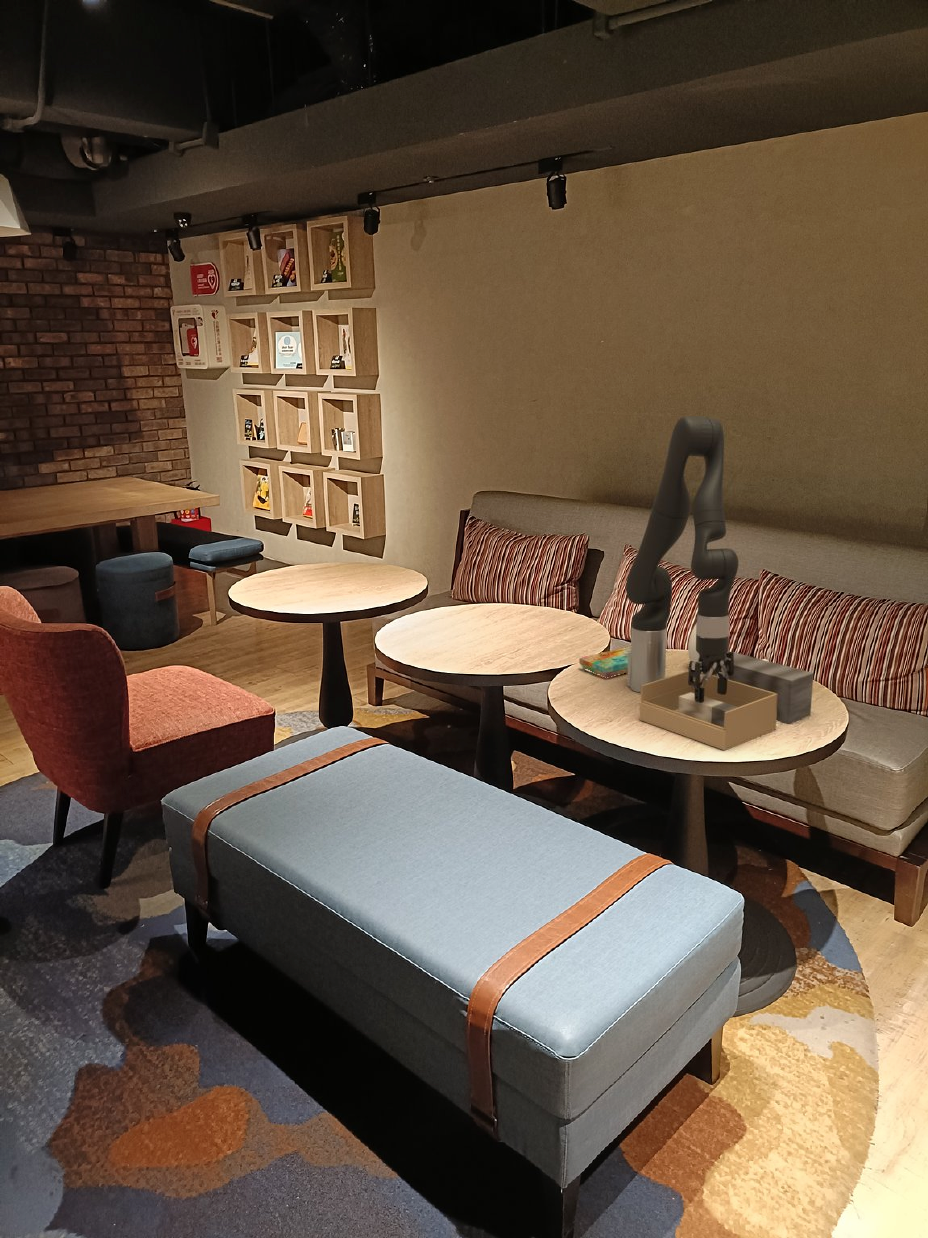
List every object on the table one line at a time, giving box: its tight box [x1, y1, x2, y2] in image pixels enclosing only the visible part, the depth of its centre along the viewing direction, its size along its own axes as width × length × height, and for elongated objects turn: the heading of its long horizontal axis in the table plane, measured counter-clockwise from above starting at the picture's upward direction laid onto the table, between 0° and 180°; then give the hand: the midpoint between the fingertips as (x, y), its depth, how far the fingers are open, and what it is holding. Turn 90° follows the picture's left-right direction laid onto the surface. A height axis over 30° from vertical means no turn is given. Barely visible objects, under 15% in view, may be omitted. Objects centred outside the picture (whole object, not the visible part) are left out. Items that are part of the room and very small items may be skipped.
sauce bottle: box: [687, 624, 699, 662], centre depth 263 cm, size 8×8×18 cm
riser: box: [714, 651, 814, 725], centre depth 233 cm, size 24×9×11 cm, turn 37°
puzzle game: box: [578, 646, 631, 679], centre depth 267 cm, size 12×5×20 cm
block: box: [677, 692, 738, 728], centre depth 223 cm, size 14×4×6 cm, turn 37°
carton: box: [639, 670, 778, 751], centre depth 222 cm, size 25×20×9 cm
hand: (710, 698), depth 221 cm, fingers open, 8 cm apart
